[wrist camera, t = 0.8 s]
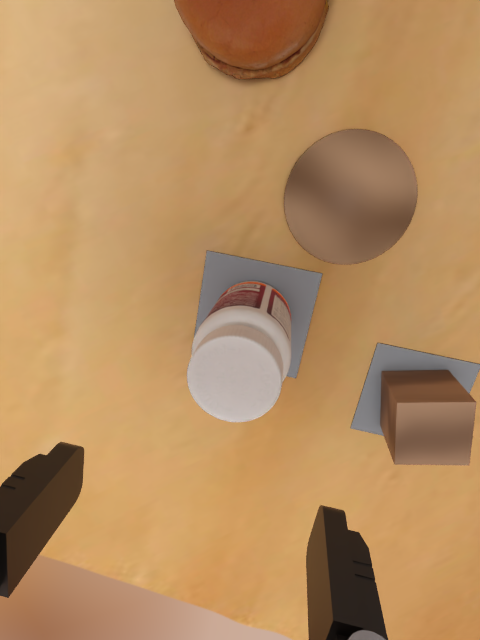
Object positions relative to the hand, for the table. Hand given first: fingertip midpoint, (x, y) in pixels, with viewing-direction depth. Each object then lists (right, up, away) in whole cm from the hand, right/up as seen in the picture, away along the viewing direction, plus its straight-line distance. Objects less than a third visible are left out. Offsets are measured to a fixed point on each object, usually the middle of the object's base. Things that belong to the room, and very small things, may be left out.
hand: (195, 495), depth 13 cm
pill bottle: (+3, +6, +19) cm, 20 cm away
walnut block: (+16, -1, +19) cm, 24 cm away
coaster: (+9, +14, +15) cm, 23 cm away
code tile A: (+3, +6, +19) cm, 20 cm away
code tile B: (+16, -1, +19) cm, 24 cm away
